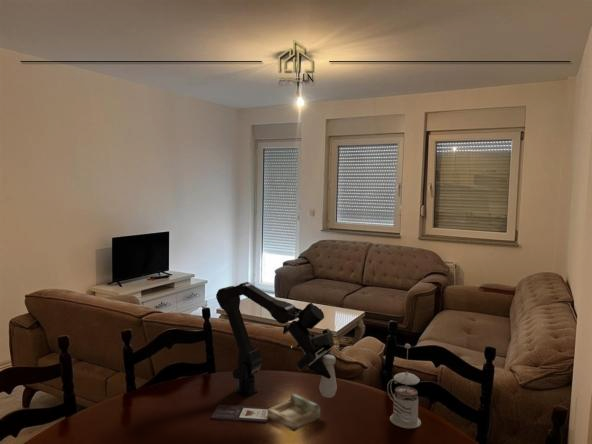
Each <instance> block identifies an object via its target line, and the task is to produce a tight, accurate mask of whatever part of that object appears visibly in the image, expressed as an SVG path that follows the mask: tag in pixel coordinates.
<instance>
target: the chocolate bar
mask: <svg viewBox="0 0 592 444" xmlns="http://www.w3.org/2000/svg"><path fill="white" fill-rule="evenodd" d="M269 408H270V407H266V406H265V407H263V406H246V405H232V404H220V403H219V404H217V406H216V408H215V410H214V412H212V415H211V416H210V420H214V421H215V420H217V421H231V422H233V421H234V422H243V421H245V423H246V422H247V421H248V422H247V423H257V422H259V424H260V422H261V424H267V423H268V420H269V417H268V409H269Z"/></svg>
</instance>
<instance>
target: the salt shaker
mask: <svg viewBox="0 0 592 444" xmlns="http://www.w3.org/2000/svg"><path fill="white" fill-rule="evenodd" d="M336 361H337V360H336V357H335V356H334V355H332V354H330V355H324V356H323V359H322V362H323V363H324V366H325V367H326V369H327V370H328V372H329V374H330V376H331V378H330V379H328V378H326V377H324V376H322V375H320V381H319V386H318V388H319V392H320V394H321V396H323V398H329V399H330V398H333V397H335V395H336V393H337V389H338V386H337V379H336V373H335V372H336V371H335V372H334V370H335V365H336ZM334 364H335V365H334Z"/></svg>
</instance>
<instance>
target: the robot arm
mask: <svg viewBox="0 0 592 444" xmlns="http://www.w3.org/2000/svg"><path fill="white" fill-rule="evenodd" d="M241 296H244V297H246V298H247V299H249V300H251V301H252V302H254V303H255V304H257V305H259V306H260V307H262V308H263V309H264V310H266V311H267V312H269V315H271V317H272V318H273V319H274V320H275V321H276V322H277V323H279V324H280V325H283V331H282V334H283V335H285V334H287V333H289V334H290V335H291V337H292V338H293V339H294V341H295V342H296V343H297V344H296V348H297V349H299V348H300V349H301V351H302V352H303V353H304V356H302V357H301V358H300V359H299V360H297V361H296V368H297V370H298V371H299V372H301V371H302V370H303V369H305V368H306V369H307V370H311V371H313V372H315V373H317V374H318V375H320V376H324V377H326V378H328V379H330V378H331V376H330V374H329V372H328V370H327V369H326V367H325V366H324V363H323V362H322V359H323V356H324V355H331V351H332V348H333V347H334V346H335V345H336V344H335V342H334V335H335V334H334V333H333V332H332V330H330V329H329V328H325V329H323V330H322V333H320V334H318V335H317V334H316V332H311V331H310V330H312V329H313V328H315V327H316V326H317V325H318V324H320V323H321V321H323V320H324V318H325V314H324V311H323V310H322V309H321V308H320V307H318V306H316V305H314V304H313V302H310V303H308V304H306V306H305V307H304V308H303V309H301V308H299V307H298V308H297V307H296V306H295V305H294V304H292V303H290V302H287V301H284V300H279V299H276V298H274V297H273V296H271V295H269V293H266V292H265V291H263V290H261V289H260V288H259V287H257V286H255V285H253V284H252V283H251V282H249V281H245V282H242V283H240V284H238V285H236V286H234V285H230V286H225V287H222V288H219V289H218V290H217V292H216V294H215V298H216V300H217V303H218V305H219V307H220V308H221V309H222V310H223V311H224V312H225V313H226V316H227V319H228V323H229V326H230V329H231V332H232V335H233V337H234V340H235V345H236V346H237V350H238V351H237V352H238V354H237V365H238V366H237V367H236V368H235V369H234V370H233V371H232V377H233V378H234V379H235V380H236V388H234V389H233V393H235V394H237V395H239V396H240V397H243V398H246V397H249V396H251V395H253V394H257V393H258V390H257V389H256V388H255V386H256V382H255V374H257V373H258V372H259V370H260V369H261V367H262V365H263V362H262V361H263V357H262V355H261V352H260V349H259V348H256V349H255V348H254V347H253V346H252V343H251V340H250V337H249V334H248V331H247V328H246V325H245V321H244V319H243V315H242V312H241V309H240V304H241ZM296 319H297V320H296ZM289 322H290V323H289ZM287 323H289V324H287ZM334 372H335V374H336V370H335V369H334Z"/></svg>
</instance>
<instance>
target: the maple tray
mask: <svg viewBox="0 0 592 444" xmlns="http://www.w3.org/2000/svg"><path fill="white" fill-rule="evenodd" d="M268 408H269V409H268V419H271V420H272V421H274V422H277V423H278V424H279V425H281V426H283V427H285V428H287V429H289V430H291V431H293V432H295V431H296V430H297V431H298V430H299V429H301V428H303V427H305V426H307V425H309V424H311V423H313V422H314V421H317V420H318V419H320V418H321V405H319V403H316V402H313V401H311V400H309V399H307V398H305V397H303V396H300V395H298V394H296V393H292V394H290V398H289V399H288V400H285V401H283V402H280V403H279V404H277V405H273V406H272V407H268Z"/></svg>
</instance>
